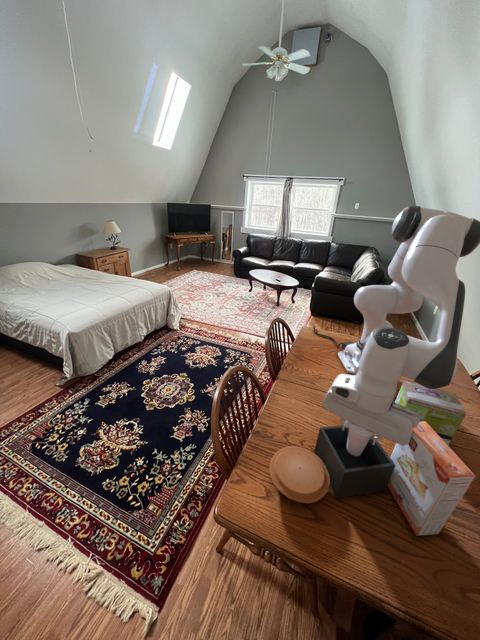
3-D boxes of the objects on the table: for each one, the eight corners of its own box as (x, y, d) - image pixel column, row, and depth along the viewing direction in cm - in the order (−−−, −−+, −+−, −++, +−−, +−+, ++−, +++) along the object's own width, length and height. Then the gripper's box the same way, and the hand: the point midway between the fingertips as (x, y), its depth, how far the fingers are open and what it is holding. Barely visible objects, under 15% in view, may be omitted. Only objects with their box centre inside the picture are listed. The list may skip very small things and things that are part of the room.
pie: (325, 461, 76) (328, 449, 74) (329, 519, 63) (333, 506, 61) (271, 449, 79) (273, 437, 77) (264, 502, 66) (266, 489, 63)
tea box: (393, 433, 87) (407, 398, 80) (390, 412, 95) (402, 379, 89) (448, 449, 82) (467, 413, 76) (439, 426, 90) (456, 391, 84)
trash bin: (314, 451, 79) (319, 427, 75) (355, 446, 82) (363, 422, 77) (336, 498, 67) (344, 472, 63) (384, 490, 70) (395, 465, 65)
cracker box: (380, 477, 73) (403, 420, 64) (400, 476, 73) (426, 420, 64) (414, 537, 60) (449, 476, 51) (439, 535, 61) (478, 475, 52)
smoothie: (365, 444, 73) (379, 404, 67) (367, 464, 68) (383, 423, 62) (341, 437, 75) (352, 398, 69) (341, 456, 69) (353, 415, 63)
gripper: (423, 406, 60) (404, 448, 66) (333, 371, 71) (324, 411, 76) (421, 423, 55) (401, 467, 61) (325, 383, 66) (316, 424, 72)
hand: (358, 436), depth 69 cm, fingers closed on smoothie, 5 cm apart
